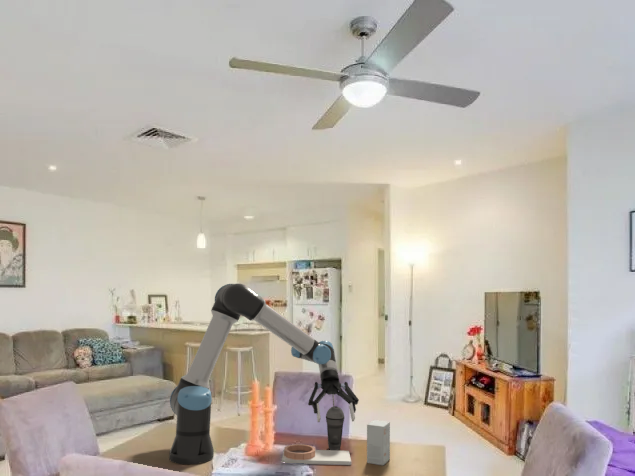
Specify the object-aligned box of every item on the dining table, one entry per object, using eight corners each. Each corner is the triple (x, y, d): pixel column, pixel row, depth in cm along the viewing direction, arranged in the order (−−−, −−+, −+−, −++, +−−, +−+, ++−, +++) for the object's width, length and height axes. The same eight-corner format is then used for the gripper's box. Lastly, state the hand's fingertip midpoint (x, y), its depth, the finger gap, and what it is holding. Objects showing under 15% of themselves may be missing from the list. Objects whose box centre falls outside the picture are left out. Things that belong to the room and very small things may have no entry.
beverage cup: (336, 453, 180) (337, 397, 183) (321, 449, 184) (322, 394, 187) (347, 448, 186) (348, 394, 188) (332, 444, 190) (333, 392, 193)
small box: (373, 456, 177) (373, 419, 179) (390, 459, 175) (390, 421, 176) (366, 462, 170) (366, 424, 172) (383, 465, 167) (383, 426, 169)
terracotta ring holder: (283, 459, 168) (283, 453, 168) (285, 449, 179) (285, 443, 179) (315, 460, 168) (315, 454, 168) (315, 450, 179) (315, 444, 179)
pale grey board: (281, 463, 167) (281, 459, 167) (283, 452, 179) (283, 449, 179) (351, 465, 167) (351, 461, 167) (348, 454, 179) (348, 450, 179)
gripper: (355, 379, 208) (365, 424, 192) (298, 379, 203) (303, 426, 187) (359, 368, 204) (369, 413, 187) (300, 368, 199) (305, 415, 182)
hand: (336, 420), depth 187 cm, fingers open, 13 cm apart
